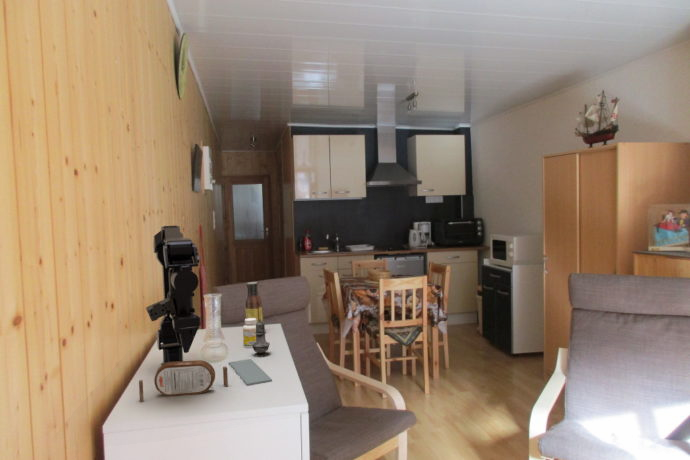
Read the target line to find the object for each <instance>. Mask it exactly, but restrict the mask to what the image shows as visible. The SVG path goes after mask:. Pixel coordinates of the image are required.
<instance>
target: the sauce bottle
mask: <svg viewBox="0 0 690 460" xmlns="http://www.w3.org/2000/svg"><path fill="white" fill-rule="evenodd" d="M258 285H259V284H258V282H257V281H251V282H247V283H246V288H247V297H246V299H245V319H247V318H256V321H257V322H259V319H261V321H262V322H264V317H263V307H262V300H261V296H260V295H259V291H258ZM257 322H256V323H257Z"/></svg>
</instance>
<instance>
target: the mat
mask: <svg viewBox="0 0 690 460" xmlns="http://www.w3.org/2000/svg"><path fill="white" fill-rule="evenodd" d="M228 365H229V366H230V367H231V369H232V368H233V369H234V370H235V371H234V370H233V369H232V370H233V371H234V372H235V373H236V375H237V374H238V375H239V376H240V377H239V376H238V375H237V376H238V377H239V378H240V379H241V380H243V381H242V382H243V383H244V384H245V386H246V387H247V386H254V385H259V384H260V385H261V384H265V383H269V382H270V383H271V382H273V379H272V378H271V377H270V376H269V375H268V373H266V371H264V370H263V369H262V368H261V367H260V366H259V365H258V364H257V363H256V362H254V360H253V359H252V358H248V359H241V360H236V361H229V362H228Z"/></svg>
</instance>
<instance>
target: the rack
mask: <svg viewBox="0 0 690 460" xmlns="http://www.w3.org/2000/svg"><path fill="white" fill-rule="evenodd" d="M222 373H223V374H222V377H223V386H224V387H225V388H226V387H229V383H228V382H229V379H228V367H227V366H223V367H222ZM138 389H139V391H138V392H139V402H140V403H144V400H145V399H144V382H143V379H141V380H140V379H139V380H138Z"/></svg>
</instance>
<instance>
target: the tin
mask: <svg viewBox="0 0 690 460" xmlns="http://www.w3.org/2000/svg"><path fill="white" fill-rule="evenodd" d="M215 380H216V371H215V368H214V367H213V365H212V364H211V363H209V362H208V361H206V360H201V359H197V360H183V361H176V362H167V363H165V364H163V365H162V366H160V367H158V368H157V370H156V373H155V375H154V381H153V383H154V386H155V389H156V390H157V391H158V392H159V393H160V394H162V395H163V396H168V397H171V396H172V397H175V396H185V395H187V396H188V395H200V394H204V393H205V392H207V391H209V390H210V389H211V388H212V386H213V384H214V382H215Z"/></svg>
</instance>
